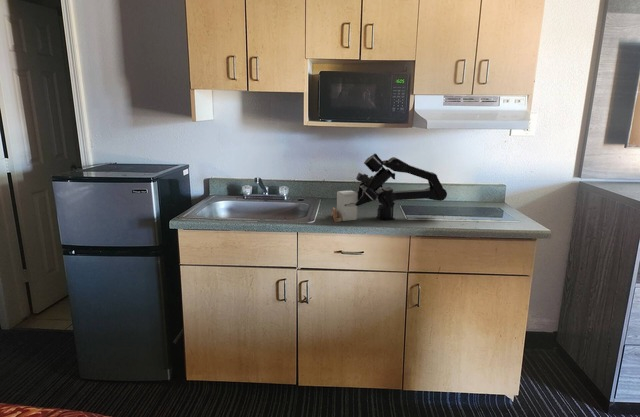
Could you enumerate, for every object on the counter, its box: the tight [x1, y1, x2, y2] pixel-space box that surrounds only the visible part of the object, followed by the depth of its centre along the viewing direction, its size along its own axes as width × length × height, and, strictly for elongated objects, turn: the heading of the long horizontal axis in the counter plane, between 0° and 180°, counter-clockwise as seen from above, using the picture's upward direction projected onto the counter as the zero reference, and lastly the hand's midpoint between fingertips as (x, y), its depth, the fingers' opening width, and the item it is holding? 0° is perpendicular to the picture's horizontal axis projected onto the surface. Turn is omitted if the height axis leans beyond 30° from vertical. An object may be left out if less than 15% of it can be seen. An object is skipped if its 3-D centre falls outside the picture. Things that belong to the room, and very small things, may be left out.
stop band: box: [332, 207, 342, 223], centre depth 196 cm, size 3×11×4 cm, turn 4°
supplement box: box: [336, 190, 358, 222], centre depth 195 cm, size 7×7×13 cm
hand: (354, 203), depth 195 cm, fingers open, 9 cm apart
